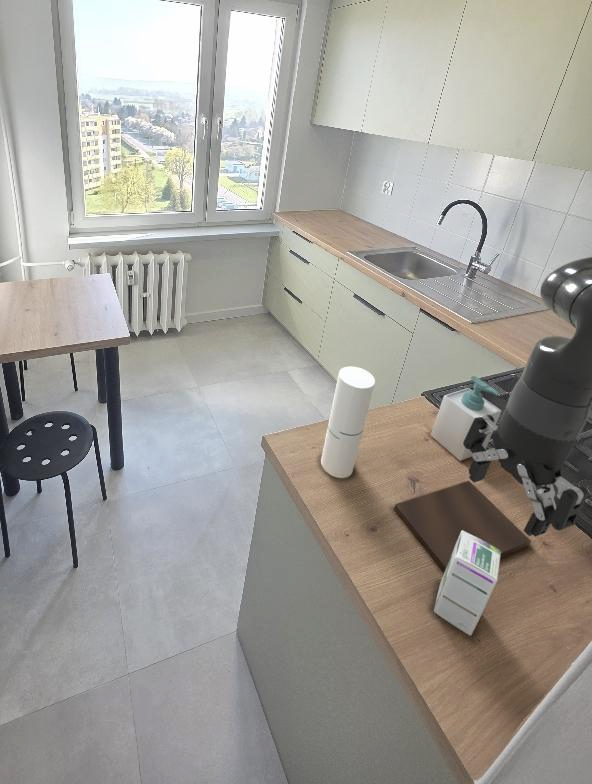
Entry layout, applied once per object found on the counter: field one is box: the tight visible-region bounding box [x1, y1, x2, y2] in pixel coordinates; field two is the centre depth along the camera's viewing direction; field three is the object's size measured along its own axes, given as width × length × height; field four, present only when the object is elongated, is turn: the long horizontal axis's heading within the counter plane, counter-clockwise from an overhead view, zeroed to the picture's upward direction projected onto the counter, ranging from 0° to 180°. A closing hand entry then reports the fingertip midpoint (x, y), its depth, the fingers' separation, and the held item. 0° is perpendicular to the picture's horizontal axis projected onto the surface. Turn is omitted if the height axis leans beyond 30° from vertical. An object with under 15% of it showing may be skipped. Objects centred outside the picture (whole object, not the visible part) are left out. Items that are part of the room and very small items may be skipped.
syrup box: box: [433, 530, 501, 637], centre depth 67 cm, size 6×6×14 cm
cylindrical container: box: [320, 365, 376, 479], centre depth 91 cm, size 7×7×25 cm
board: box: [393, 480, 532, 573], centre depth 83 cm, size 20×14×2 cm
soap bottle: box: [430, 375, 502, 462], centre depth 99 cm, size 9×9×19 cm
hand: (501, 504), depth 59 cm, fingers open, 8 cm apart
